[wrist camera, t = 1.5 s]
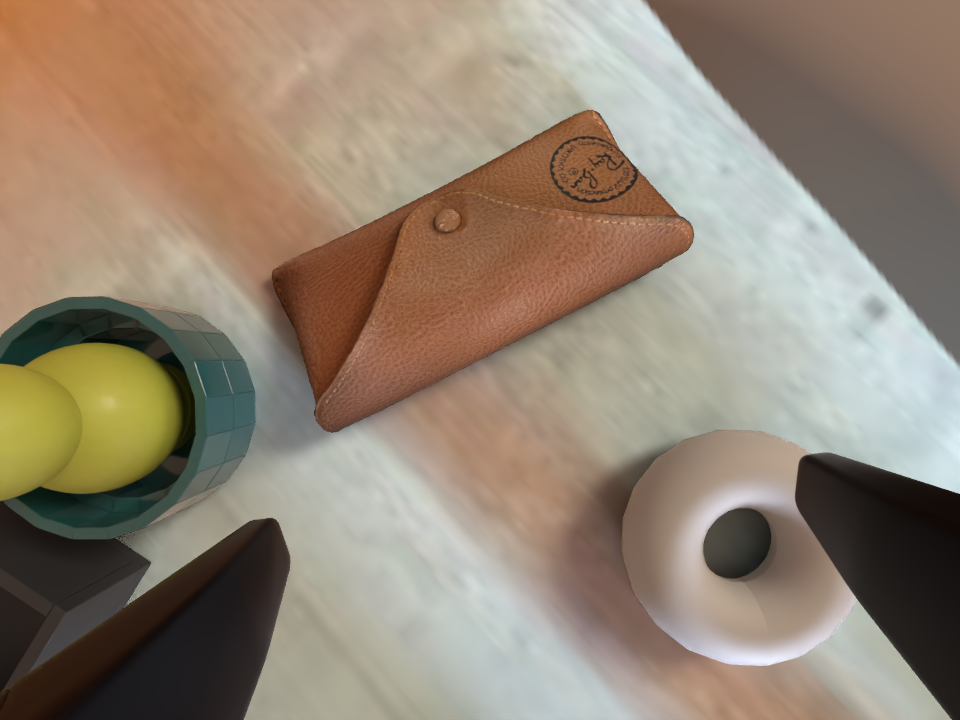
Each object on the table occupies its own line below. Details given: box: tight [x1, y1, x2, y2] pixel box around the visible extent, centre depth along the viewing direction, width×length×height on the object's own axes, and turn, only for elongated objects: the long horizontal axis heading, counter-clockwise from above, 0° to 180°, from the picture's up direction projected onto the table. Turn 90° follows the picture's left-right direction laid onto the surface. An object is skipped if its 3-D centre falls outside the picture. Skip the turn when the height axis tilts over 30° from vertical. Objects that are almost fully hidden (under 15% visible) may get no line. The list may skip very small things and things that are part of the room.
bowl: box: [0, 296, 256, 539], centre depth 21 cm, size 10×10×4 cm
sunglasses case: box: [272, 110, 694, 433], centre depth 21 cm, size 18×7×7 cm, turn 118°
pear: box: [0, 343, 196, 501], centre depth 16 cm, size 6×6×12 cm
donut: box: [622, 430, 857, 666], centre depth 20 cm, size 10×4×10 cm
